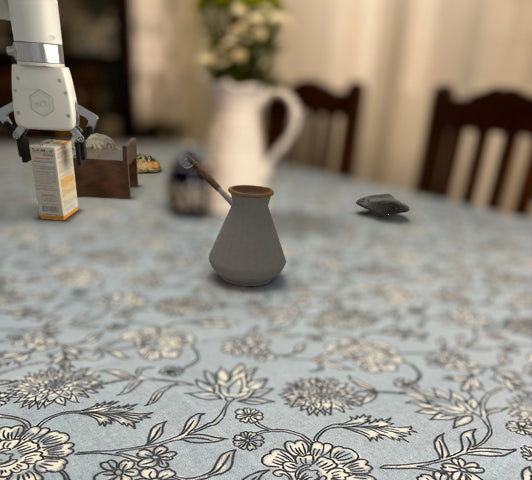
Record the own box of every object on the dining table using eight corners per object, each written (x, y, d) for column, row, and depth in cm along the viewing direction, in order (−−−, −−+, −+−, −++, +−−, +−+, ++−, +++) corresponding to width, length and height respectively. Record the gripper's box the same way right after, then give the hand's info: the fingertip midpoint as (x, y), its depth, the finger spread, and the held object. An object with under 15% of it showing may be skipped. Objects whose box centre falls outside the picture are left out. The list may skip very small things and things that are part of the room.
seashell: (390, 225, 111) (419, 214, 116) (389, 198, 108) (419, 188, 113) (350, 220, 120) (379, 210, 125) (349, 196, 117) (378, 186, 122)
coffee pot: (300, 281, 78) (311, 178, 71) (241, 297, 71) (247, 185, 64) (214, 243, 91) (216, 153, 84) (157, 254, 84) (154, 157, 77)
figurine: (70, 190, 132) (47, 129, 124) (116, 172, 140) (97, 113, 131) (90, 195, 127) (68, 131, 118) (137, 176, 135) (119, 114, 126)
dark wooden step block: (74, 195, 114) (68, 142, 109) (88, 182, 126) (83, 134, 121) (129, 198, 115) (126, 146, 110) (138, 185, 127) (136, 137, 122)
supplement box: (55, 208, 104) (46, 138, 98) (79, 210, 104) (72, 140, 98) (38, 219, 97) (27, 144, 90) (64, 221, 97) (55, 146, 90)
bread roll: (147, 164, 152) (147, 146, 149) (168, 176, 146) (169, 158, 143) (113, 167, 146) (112, 149, 143) (133, 181, 140) (133, 162, 137)
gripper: (-23, 52, 83) (-3, 164, 91) (87, 59, 85) (98, 168, 93) (-5, 53, 90) (12, 157, 98) (97, 60, 91) (106, 162, 100)
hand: (54, 162), depth 96 cm, fingers open, 9 cm apart
